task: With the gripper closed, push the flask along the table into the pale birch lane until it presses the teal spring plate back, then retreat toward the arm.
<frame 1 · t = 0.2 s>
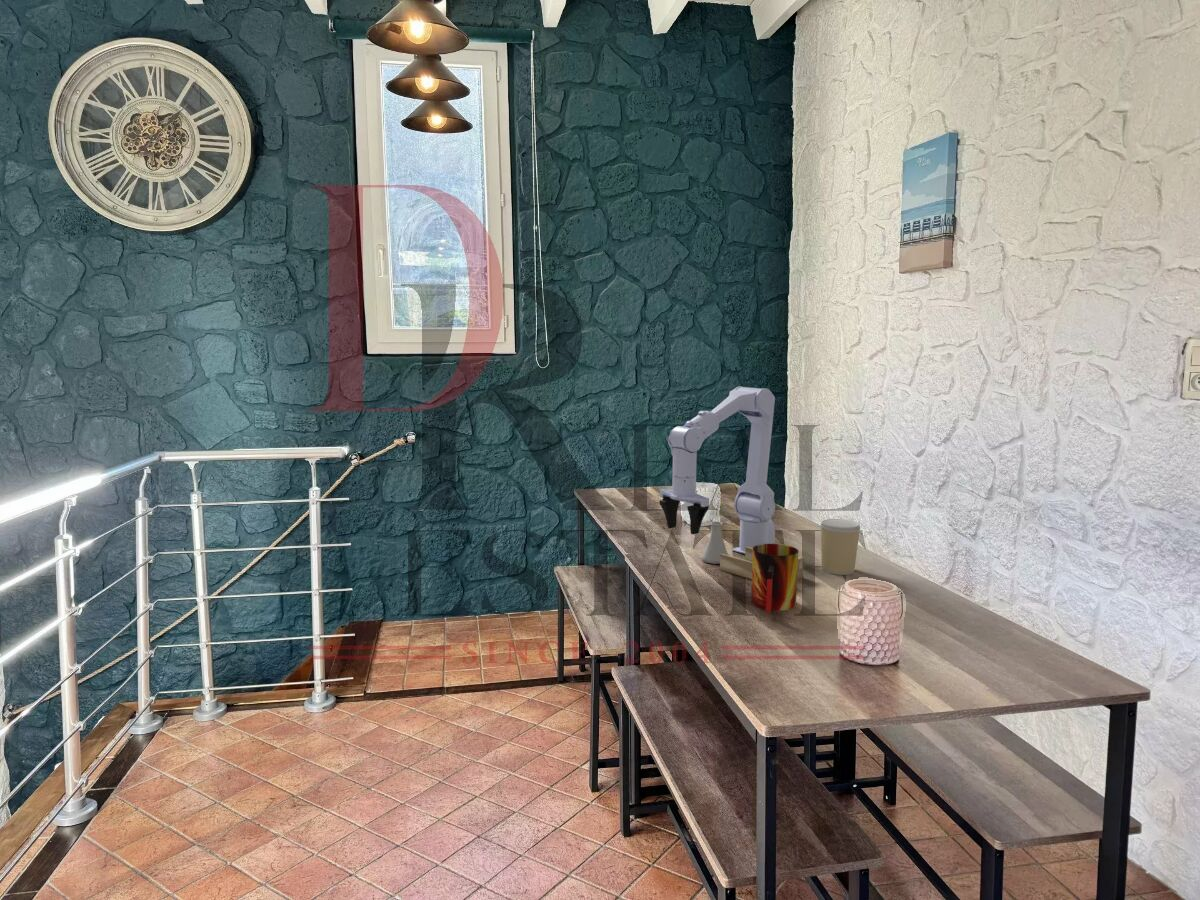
hand: (683, 530, 197), 10 cm above the table, fingers open, 7 cm apart
coffee cup: (837, 571, 199), on the table
mug: (776, 607, 173), on the table
lane: (759, 573, 196), on the table
spring plate: (781, 566, 191), point 3 cm above the table, slide at 0.0 cm
flask: (715, 561, 207), on the table
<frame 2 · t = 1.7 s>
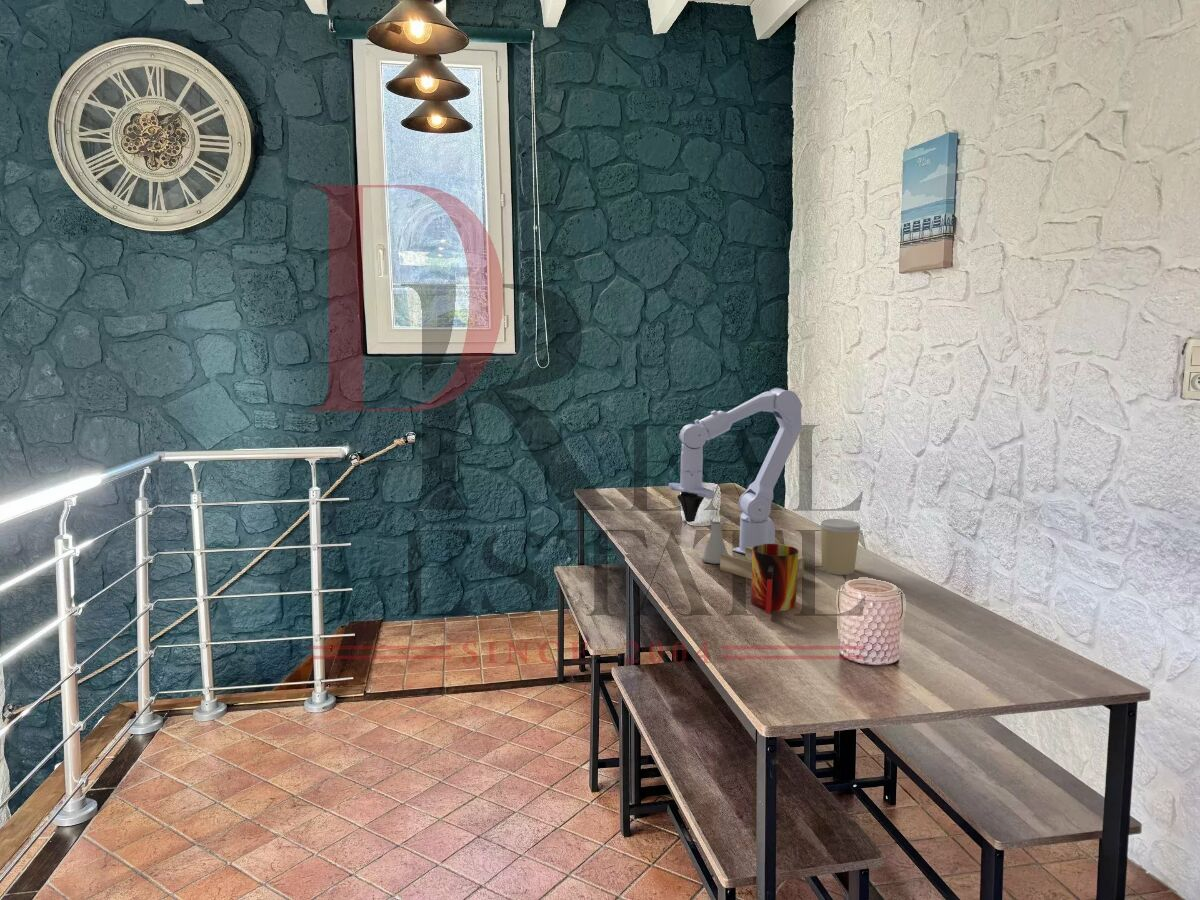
hand: (690, 521, 212), 9 cm above the table, fingers closed
nothing on the table moved.
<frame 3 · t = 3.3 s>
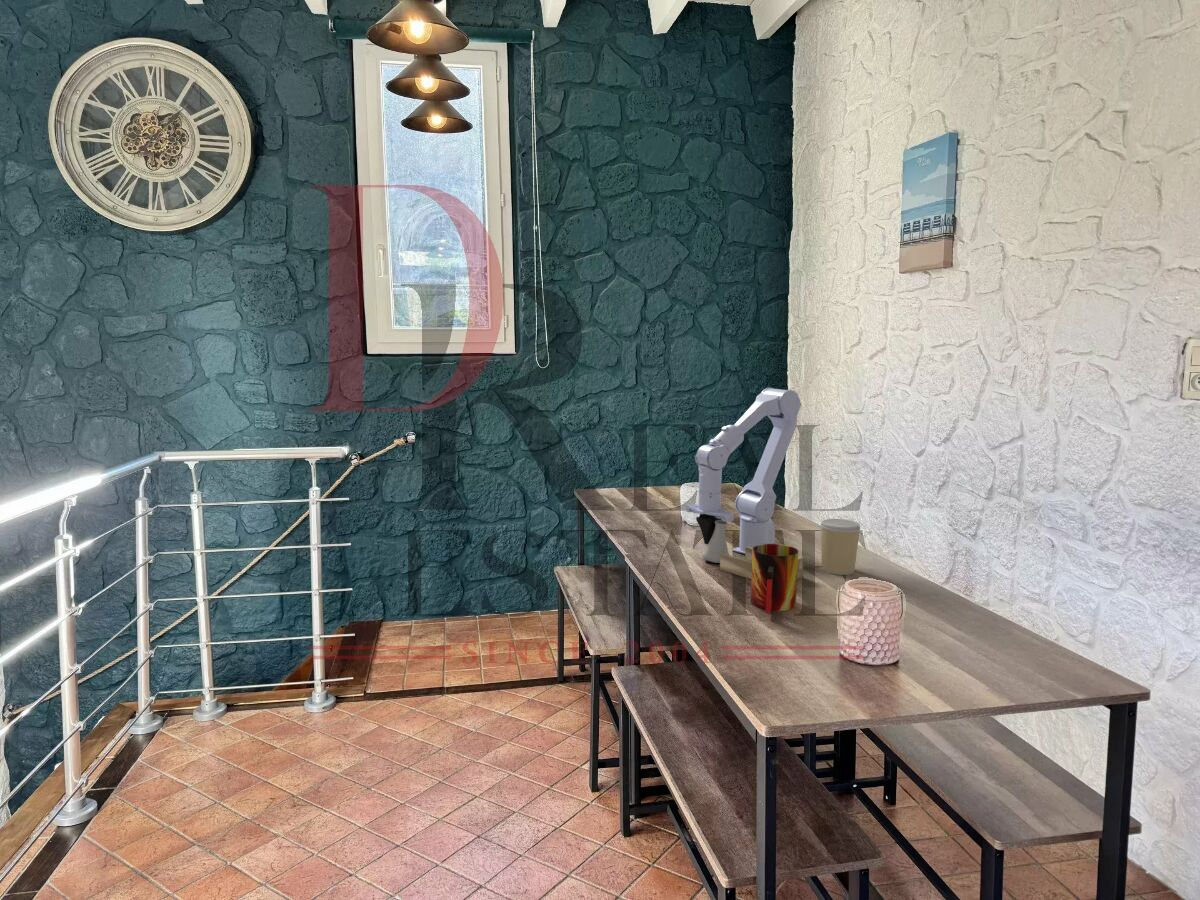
hand: (708, 543, 208), 4 cm above the table, fingers closed
flask: (715, 559, 206), on the table, touching gripper
everything else where it was.
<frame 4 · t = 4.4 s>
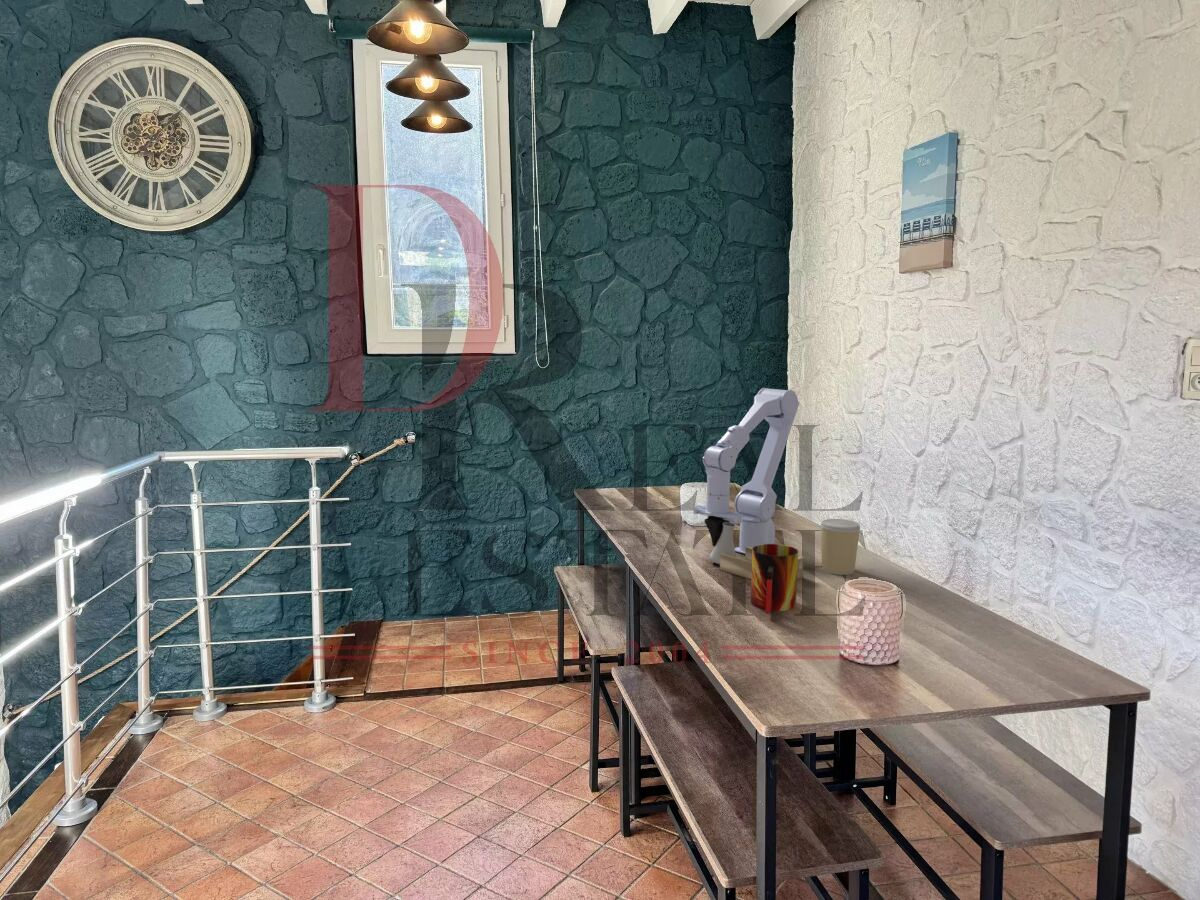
hand: (716, 545, 206), 4 cm above the table, fingers closed
flask: (722, 561, 204), on the table, touching gripper
everything else where it was.
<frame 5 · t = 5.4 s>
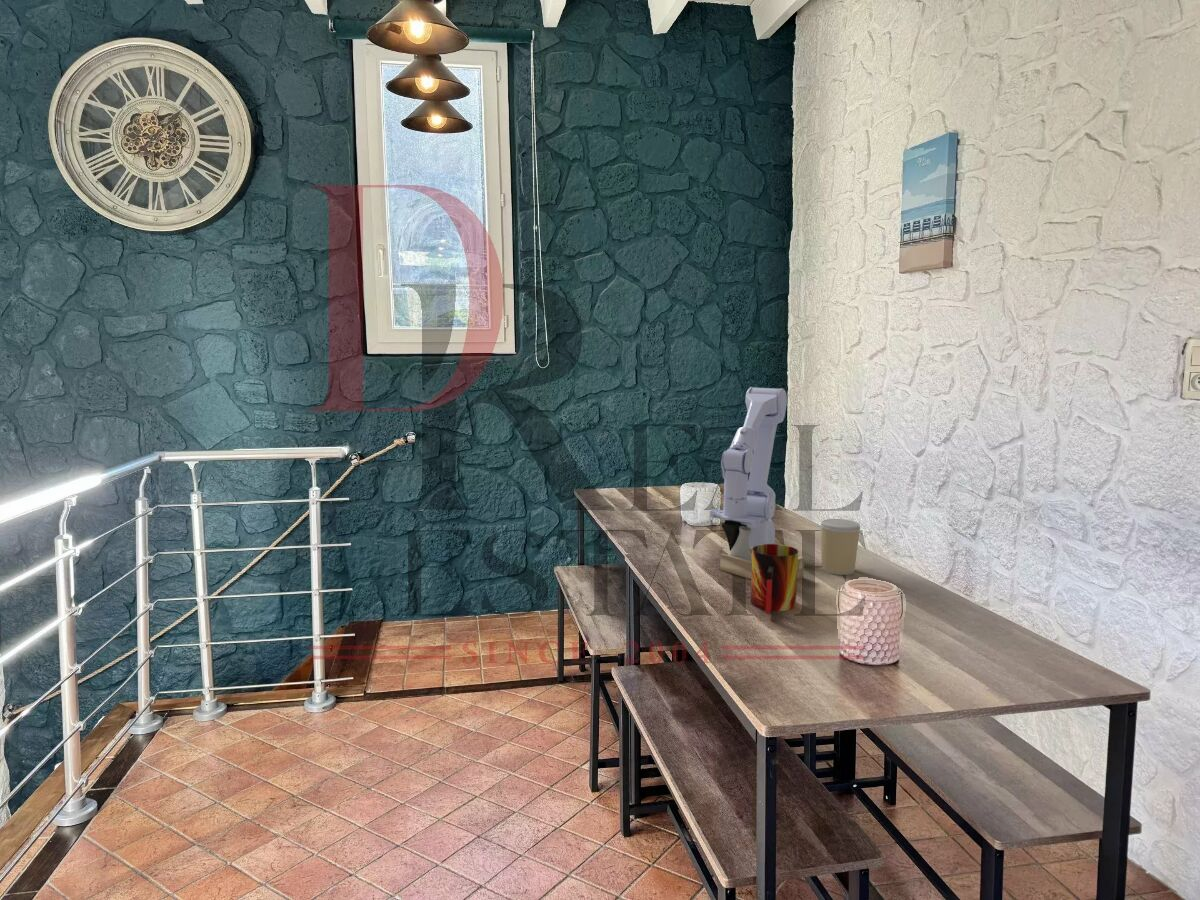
hand: (733, 550, 202), 4 cm above the table, fingers closed, pressing on flask
flask: (737, 566, 200), on the table, touching gripper
everything else where it was.
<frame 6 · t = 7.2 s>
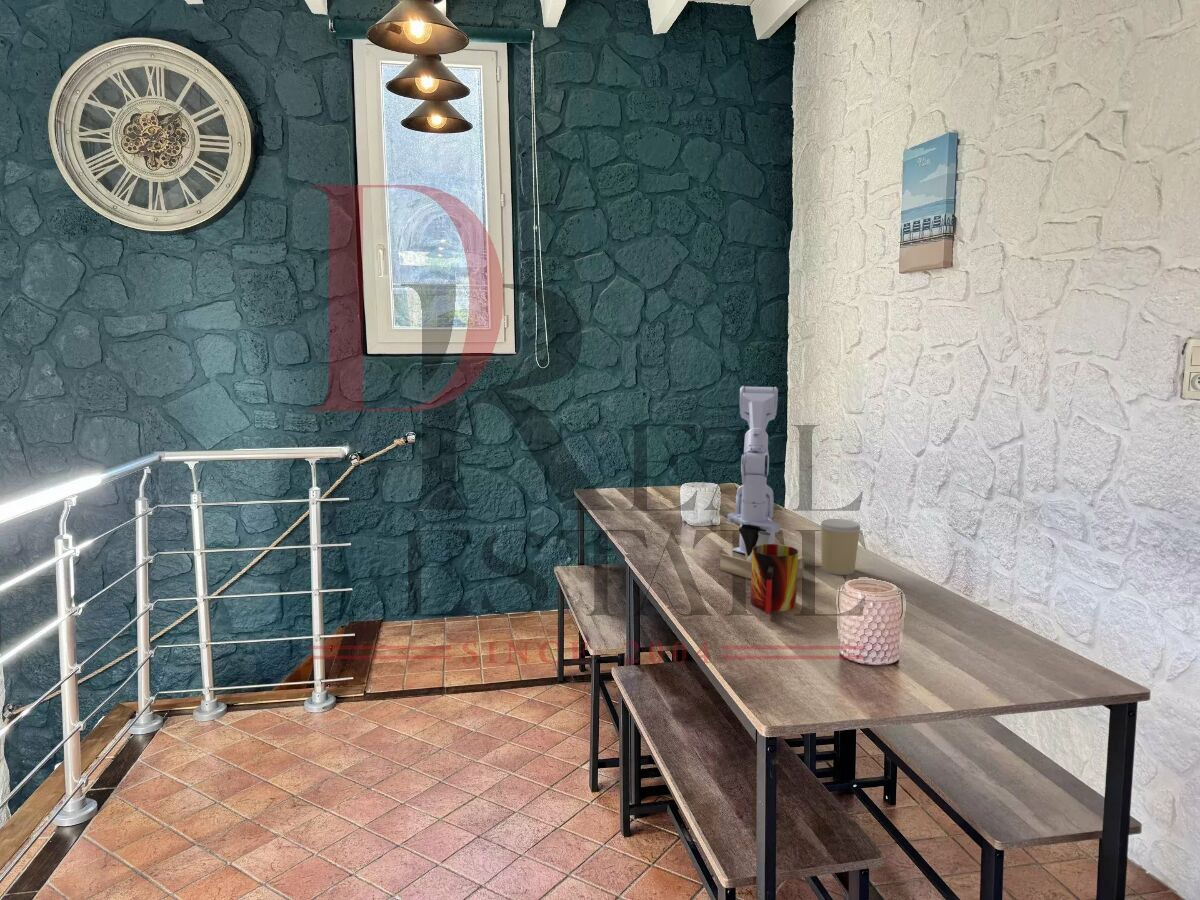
hand: (751, 555, 197), 4 cm above the table, fingers closed
flask: (756, 572, 196), on the table, touching gripper
everything else where it was.
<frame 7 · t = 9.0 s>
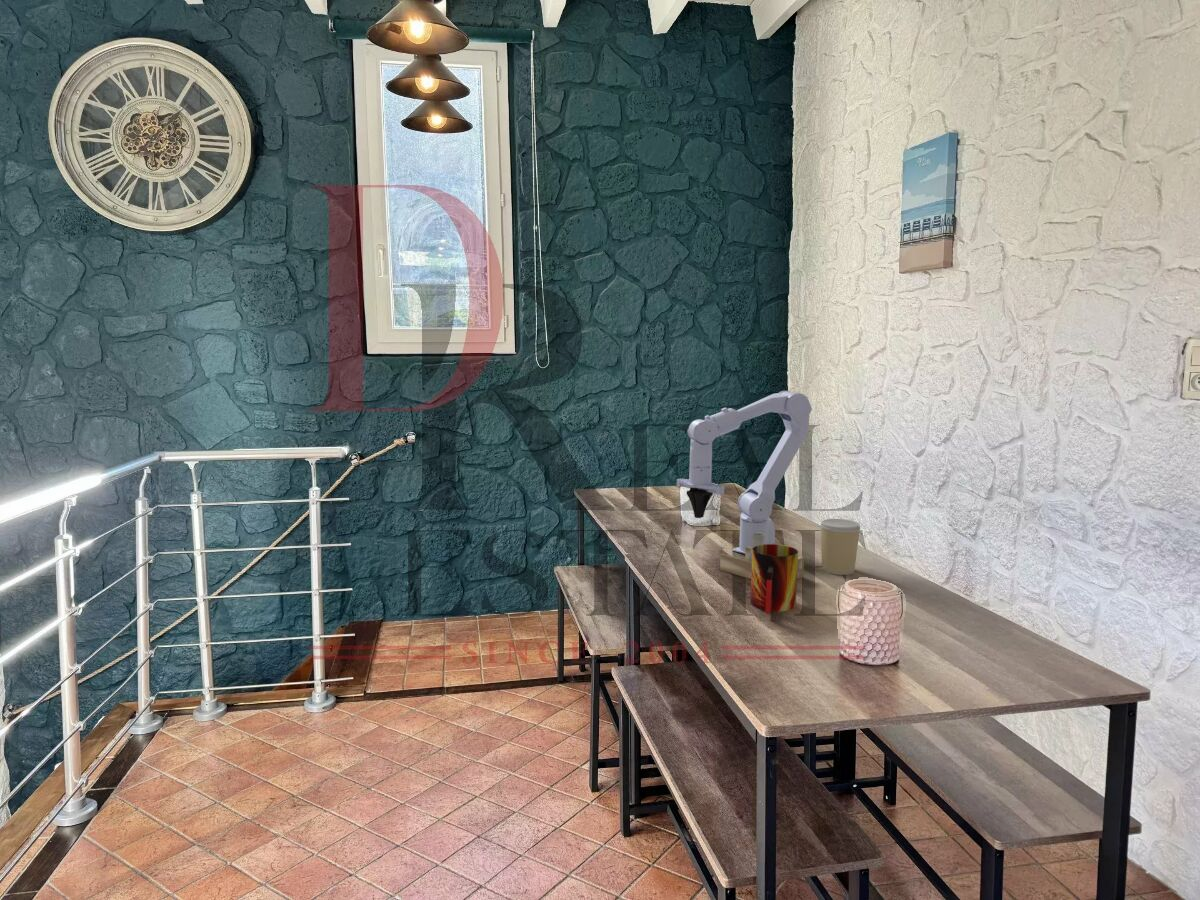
hand: (699, 517, 211), 10 cm above the table, fingers closed
flask: (756, 574, 196), on the table
everything else where it was.
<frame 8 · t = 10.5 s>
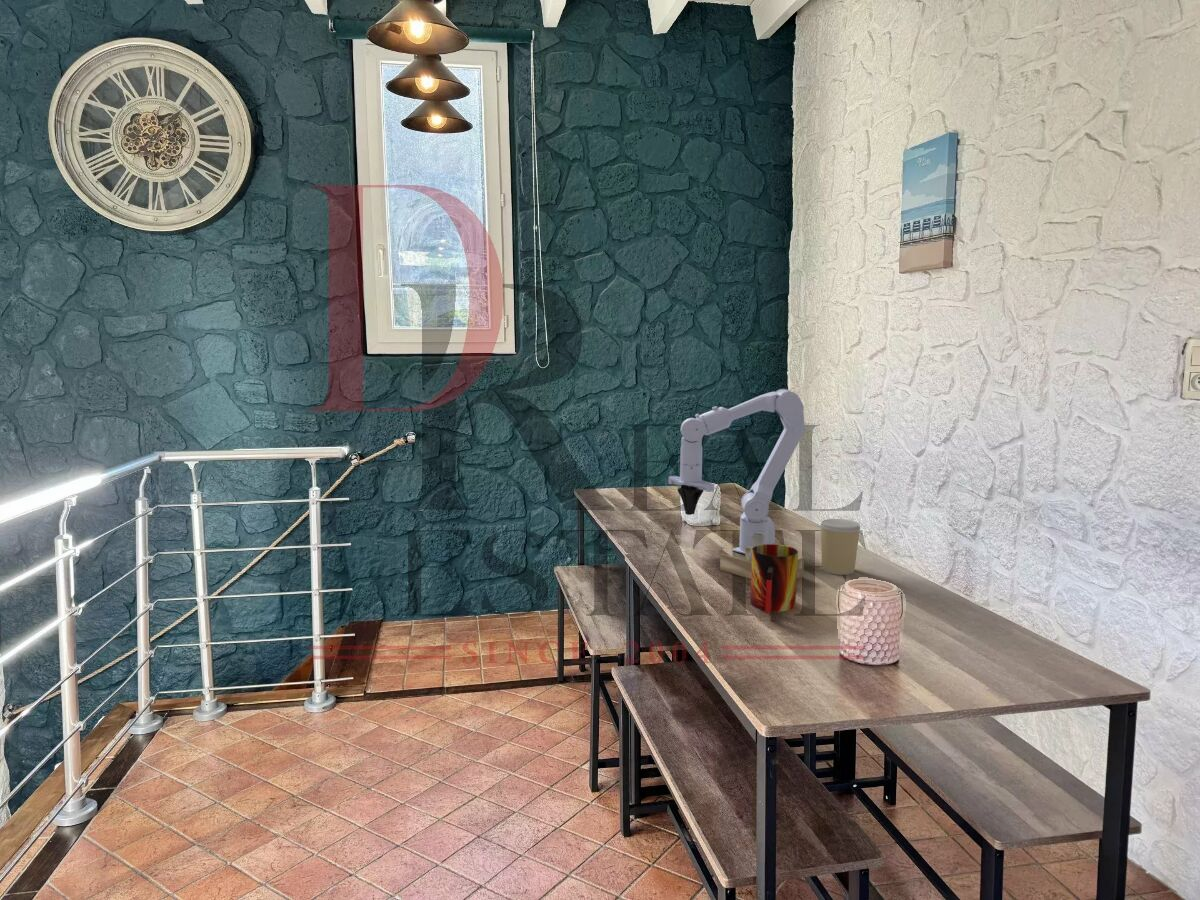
hand: (689, 514, 214), 10 cm above the table, fingers closed
nothing on the table moved.
at the end: flask inside the target area (0.9 cm from its centre), on the table; flask tilted 0°; flask moved 13.9 cm from its start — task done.
